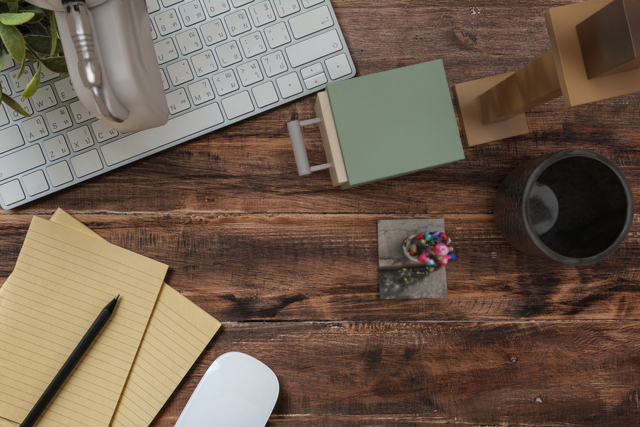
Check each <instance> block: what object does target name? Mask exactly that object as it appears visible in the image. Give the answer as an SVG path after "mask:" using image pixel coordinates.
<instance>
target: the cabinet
mask: <svg viewBox="0 0 640 427" xmlns="http://www.w3.org/2000/svg"><path fill="white" fill-rule="evenodd" d="M324 91H327V93H328V97H329V101H330V106H331V110H332V114H333V118H334V123H335V127H336V131H337V136H338V140H339V144H340V148H341V153H342V157H343V161H344V165H345V170H346V174H347V178H348V181H347V182H346V183H344V184H342V185H340V188H341V190H342V191H343V190H346V189H351V188H356V187H360V186H364V185H368V184H373V183H377V182H382V181H385V180H389V179H394V178H397V177H403V176H406V175H410V174H411V175H412V174H415V173H419V172H424V171H428V170H432V169H436V168H437V169H438V168H441V167H444V166H446V165H450V164H452V163H455V162H459V161H463V160H465V159H466V156H465V152H464V149H463V143H462V139H461V135H460V131H459V125H458V121H457V117H456V113H455V109H454V104H453V100H452V97H451V91H450V88H449V83H448V78H447V74H446V70H445V67H444V62H443V58H439V59H438V58H437V59H433V60H429V61H424V62H420V63H415V64H409V65H406V66H401V67H396V68H392V69H387V70H383V71H378V72H375V73H369V74H364V75H359V76H356V77H352V78H347V79H343V80H337V81H333V82H328V83H326V85H325V88H324Z"/></svg>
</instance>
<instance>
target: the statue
mask: <svg viewBox="0 0 640 427" xmlns="http://www.w3.org/2000/svg"><path fill="white" fill-rule="evenodd" d="M445 228H446V226H445V218H409V219H408V218H407V219H378V220H376V232H377V233H376V234H377V235H376V237H377V238H376V239H377V259H378V260H377V262H378V266H379V267H378V269H377V275H378V284H379V285H378V286H379V299H380V300H400V299H403V300H406V299H438V298H439V299H441V298H442V299H443V298H448V297H449V296H448V283H447V270H446V265H448V262H450V261H454V260H455V259H456V256H455V254H453V253H452V252H453V251H454V247H453V246H450V243H451V242H452V239H451V238H450V237H449V236H447V234H446V229H445Z"/></svg>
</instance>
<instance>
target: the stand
mask: <svg viewBox="0 0 640 427" xmlns="http://www.w3.org/2000/svg"><path fill="white" fill-rule="evenodd" d="M612 1H613V0H582V1H578V2H574V3H569V4H565V5H560V6H554V7H551V8H548V9H547V10H545V12H544V11H543V12H544V13H543V18H544V22H545V27H546V30H547V36H548V39H549V44H550V48H551V49H550V50H548V51H547V52H545V53H544V54H543V53H542V55H540V56H539V57H537V58H535V59H534V60H532V61H531V62H529V63H528V64H526V65H525V66H523V67H521V68H520V69H519V70H517V71H515V70H513V71H508V72H504V73H499V74H495V75H490V76H486V77H481V78H477V79H472V80H468V81H463V82H459V83H454V84H453V85H452V86H451V89H452V93H453V97H454V101H455V102H454V103H455V106H456V111H457V115H458V118H459V124H460V128H461V132H462V137H463V141H464V145H465V148H471V147H476V146H480V145H484V144H488V143H494V142H498V141H501V140H502V141H503V140H505V139H510V138H515V137H519V136H523V135H527V134H529V133H530V130H529V125H528V120H527V117H526V112H528V111H530V110H533V109H535V108H537V107H539V106H542V105H544V104H546V103H549V102H551V101H553V100H555V99H557V98H560V97H562V99H563V104H564V109H566V110H567V109H571V108H577V107H581V106H585V105H589V104H593V103H597V102H603V101H606V100H611V99H615V98H619V97H624V96H628V95H633V94H638V93H640V68H638V69H634V70H629V71H625V72H620V73H616V74H612V75H607V76H603V77H598V78H594V79H590V80H588V78H587V74H586V69H585V65H584V61H583V56H582V52H581V48H580V43H579V39H578V35H577V30H576V25H577V24H579V23H580V22H582V21H583V20H585V19H586V18H588V17H589V16H591V15H592V14H594V13H595V12H597V11H598V10H600V9H601V8H603V7H604V6H606V5H607V4H609V3H610V2H612Z"/></svg>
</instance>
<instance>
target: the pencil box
mask: <svg viewBox="0 0 640 427" xmlns="http://www.w3.org/2000/svg"><path fill="white" fill-rule="evenodd" d="M576 30H577V35H578V39H579V43H580V48H581V52H582V56H583V61H584V65H585V69H586V74H587V78H588V80H590V79H594V78H598V77H603V76H607V75H612V74H616V73H620V72H625V71H629V70H634V69H638V68H640V0H613V1H612V2H610V3H609V4H607V5H606V6H604V7H603V8H601V9H600V10H598V11H597V12H595V13H594V14H592V15H591V16H589V17H588V18H586V19H585V20H583V21H582V22H580V23H579V24H577V25H576Z"/></svg>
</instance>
